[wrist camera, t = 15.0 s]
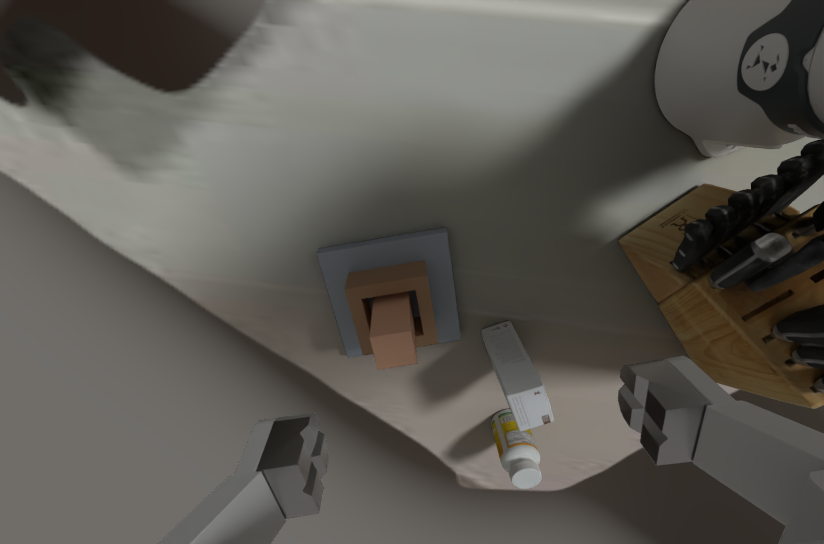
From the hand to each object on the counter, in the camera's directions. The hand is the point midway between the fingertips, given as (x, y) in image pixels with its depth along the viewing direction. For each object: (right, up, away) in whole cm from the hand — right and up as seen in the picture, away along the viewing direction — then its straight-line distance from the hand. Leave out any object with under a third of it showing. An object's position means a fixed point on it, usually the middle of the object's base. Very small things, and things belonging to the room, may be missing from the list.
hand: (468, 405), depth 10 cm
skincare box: (+11, -6, +41) cm, 43 cm away
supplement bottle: (+13, -19, +48) cm, 53 cm away
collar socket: (-4, +1, +37) cm, 38 cm away
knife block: (+32, +5, +37) cm, 49 cm away
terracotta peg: (-4, 0, +36) cm, 36 cm away
